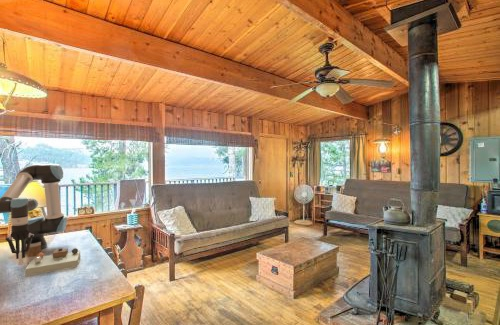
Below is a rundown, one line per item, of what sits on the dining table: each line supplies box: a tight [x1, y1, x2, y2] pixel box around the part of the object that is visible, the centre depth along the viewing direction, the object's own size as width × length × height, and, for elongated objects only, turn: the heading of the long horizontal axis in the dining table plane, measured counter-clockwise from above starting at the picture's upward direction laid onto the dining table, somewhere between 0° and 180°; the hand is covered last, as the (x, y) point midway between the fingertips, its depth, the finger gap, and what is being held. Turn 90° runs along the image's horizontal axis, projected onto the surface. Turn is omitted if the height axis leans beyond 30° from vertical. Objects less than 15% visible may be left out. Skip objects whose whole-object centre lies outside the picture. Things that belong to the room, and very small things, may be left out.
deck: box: [24, 250, 81, 277], centre depth 164 cm, size 20×25×4 cm
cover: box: [52, 247, 69, 258], centre depth 170 cm, size 7×7×4 cm
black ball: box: [71, 247, 79, 254], centre depth 173 cm, size 4×4×4 cm
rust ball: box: [37, 252, 45, 258], centre depth 166 cm, size 4×4×4 cm
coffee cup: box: [25, 237, 42, 263], centre depth 173 cm, size 8×8×15 cm
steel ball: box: [34, 257, 42, 263], centre depth 158 cm, size 4×4×4 cm
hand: (21, 263), depth 154 cm, fingers closed
